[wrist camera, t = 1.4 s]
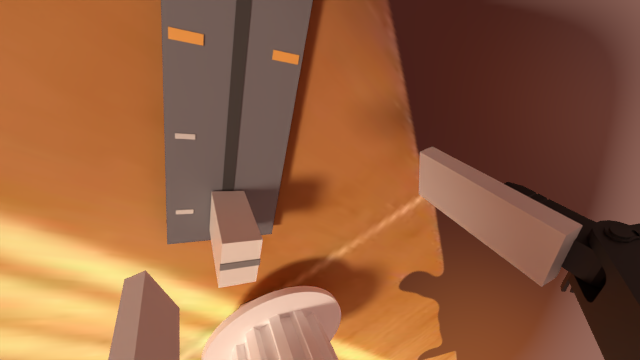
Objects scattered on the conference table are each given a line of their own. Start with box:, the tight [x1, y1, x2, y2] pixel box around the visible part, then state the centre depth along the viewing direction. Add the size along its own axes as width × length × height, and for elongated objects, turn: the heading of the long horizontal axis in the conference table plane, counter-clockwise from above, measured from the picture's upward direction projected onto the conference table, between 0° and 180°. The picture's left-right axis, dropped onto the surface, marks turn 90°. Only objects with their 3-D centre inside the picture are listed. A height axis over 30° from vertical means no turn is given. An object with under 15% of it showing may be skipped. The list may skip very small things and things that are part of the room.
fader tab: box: [209, 191, 263, 288], centre depth 33 cm, size 4×6×10 cm
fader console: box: [161, 0, 313, 244], centre depth 33 cm, size 14×34×2 cm, turn 167°
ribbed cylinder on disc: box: [202, 286, 341, 360], centre depth 47 cm, size 25×25×19 cm
